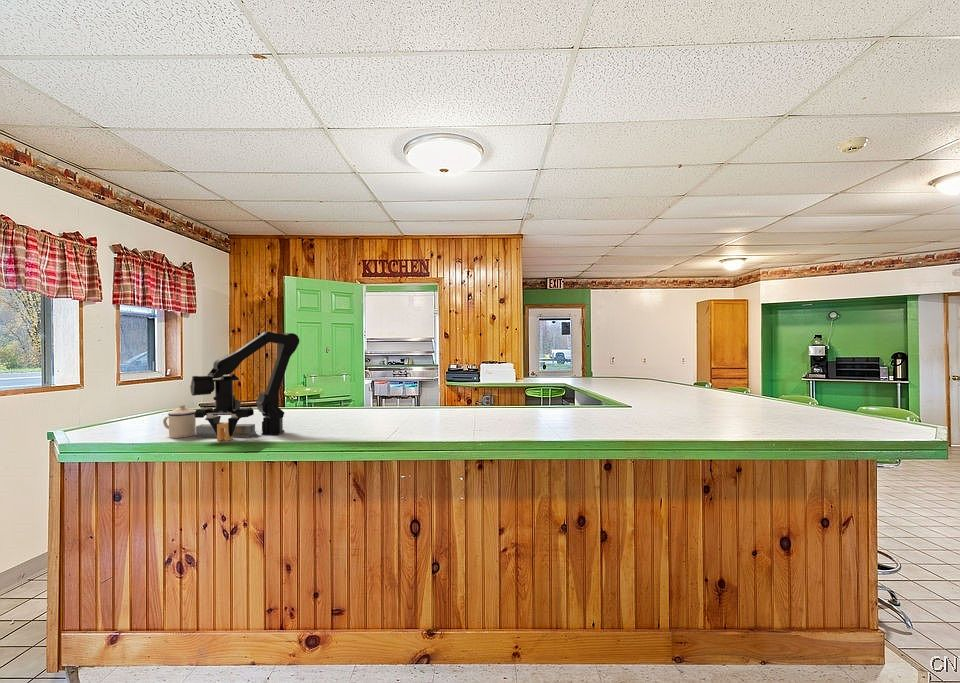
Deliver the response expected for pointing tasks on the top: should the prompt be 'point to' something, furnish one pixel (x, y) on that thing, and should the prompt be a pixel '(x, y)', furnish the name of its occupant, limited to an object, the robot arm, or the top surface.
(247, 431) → the rail
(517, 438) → the top surface
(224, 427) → the clip
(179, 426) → the teacup with lid
